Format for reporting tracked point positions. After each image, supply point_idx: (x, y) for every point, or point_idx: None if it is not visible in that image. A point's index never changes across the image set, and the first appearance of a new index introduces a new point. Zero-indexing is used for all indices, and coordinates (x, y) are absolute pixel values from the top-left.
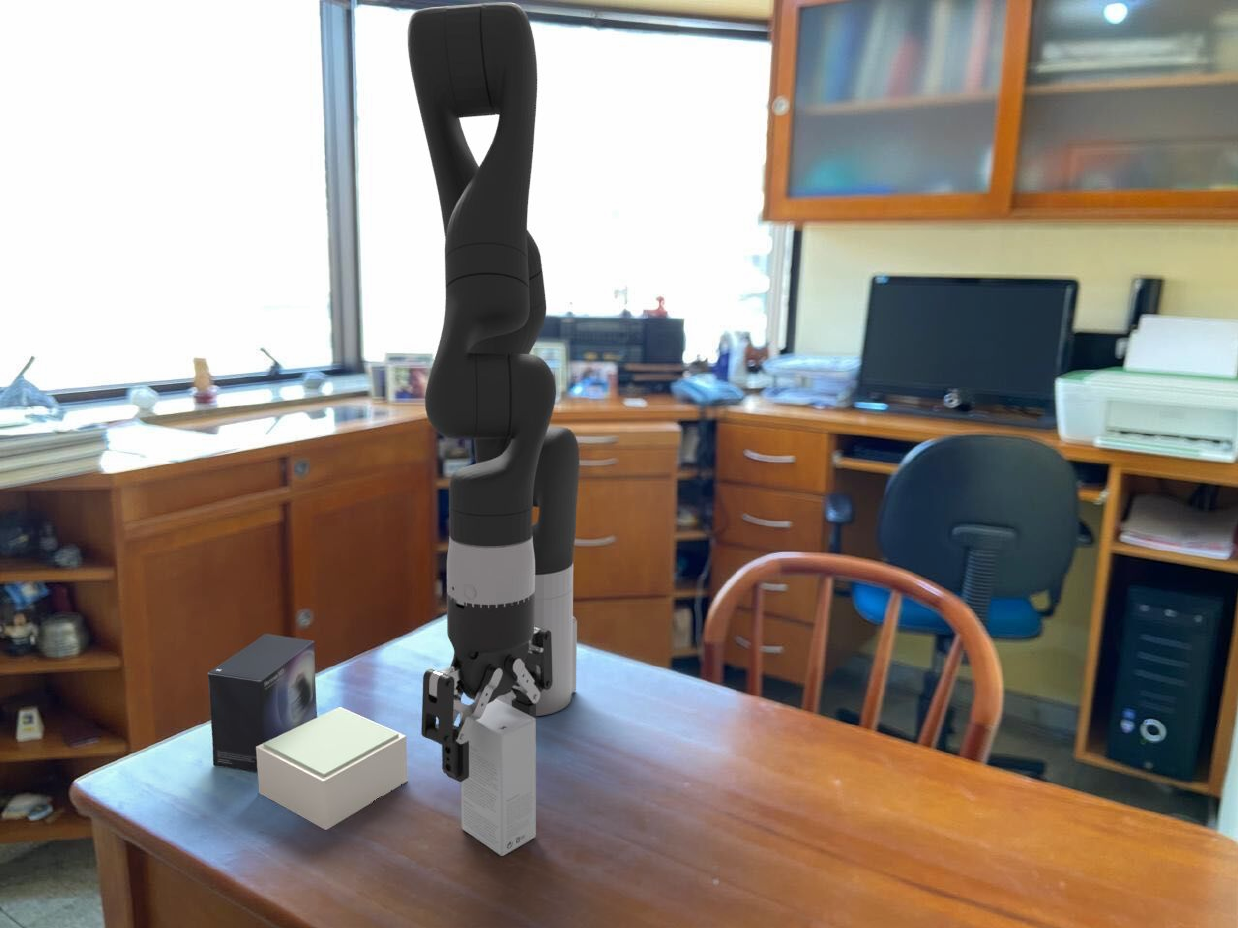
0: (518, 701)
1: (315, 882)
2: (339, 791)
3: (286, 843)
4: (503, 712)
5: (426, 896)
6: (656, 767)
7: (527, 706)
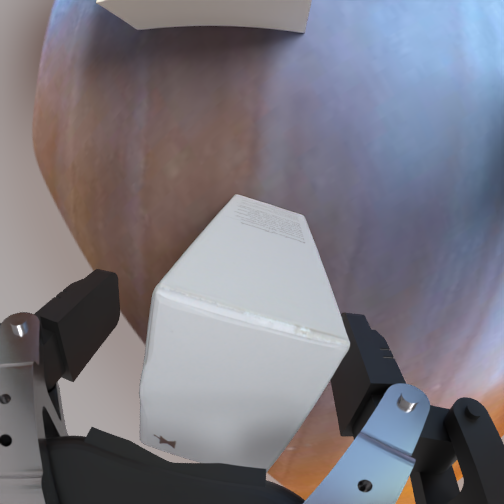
0: (365, 402)
1: (63, 109)
2: (142, 9)
3: (99, 21)
4: (242, 423)
5: (106, 240)
6: (464, 350)
7: (343, 429)
